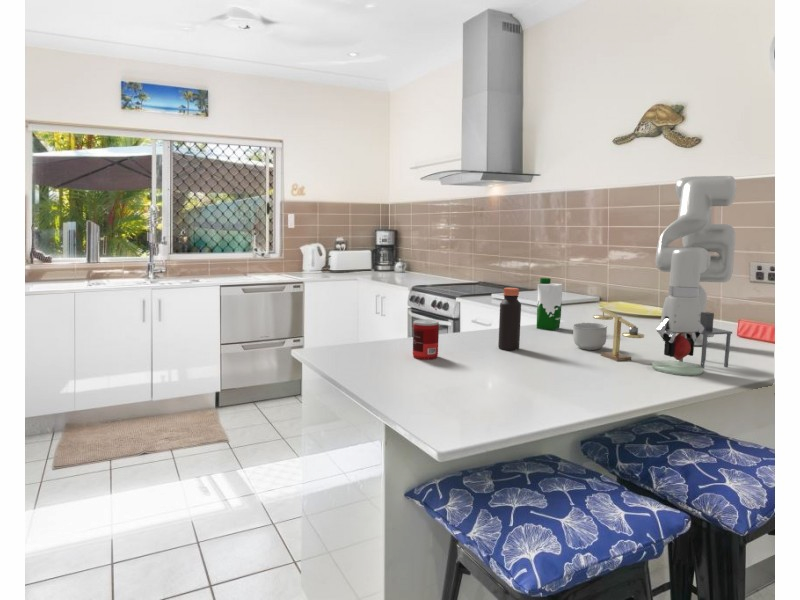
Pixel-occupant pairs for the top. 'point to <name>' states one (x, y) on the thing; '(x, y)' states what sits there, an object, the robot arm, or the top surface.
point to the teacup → (589, 335)
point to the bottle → (509, 320)
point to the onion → (681, 347)
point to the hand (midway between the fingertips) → (678, 354)
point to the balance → (618, 335)
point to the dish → (677, 367)
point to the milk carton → (549, 304)
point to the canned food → (425, 339)
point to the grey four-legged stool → (709, 330)
